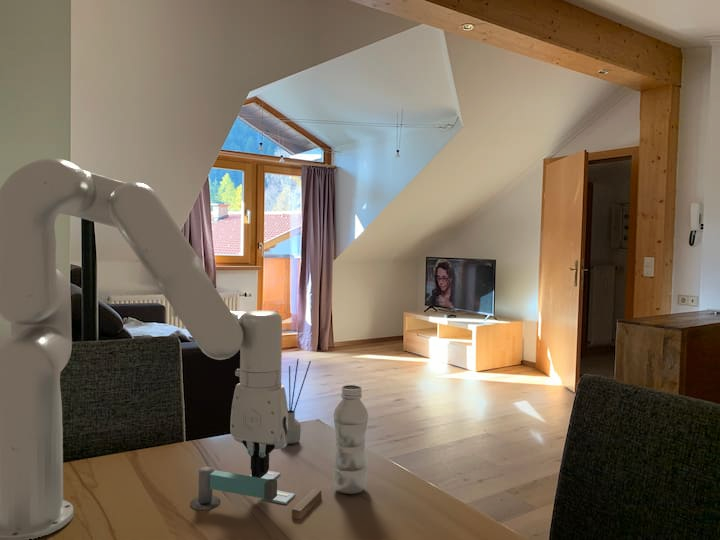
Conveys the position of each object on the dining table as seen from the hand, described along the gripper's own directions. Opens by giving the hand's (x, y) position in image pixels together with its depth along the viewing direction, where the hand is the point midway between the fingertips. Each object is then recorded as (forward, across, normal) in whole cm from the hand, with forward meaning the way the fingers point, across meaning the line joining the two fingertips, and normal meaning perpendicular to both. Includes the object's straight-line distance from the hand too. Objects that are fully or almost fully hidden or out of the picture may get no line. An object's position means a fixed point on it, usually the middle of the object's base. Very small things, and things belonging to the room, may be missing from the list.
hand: (259, 474), depth 102 cm
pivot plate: (+4, -7, -7) cm, 11 cm away
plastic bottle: (+4, +15, +8) cm, 17 cm away
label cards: (+4, 0, +4) cm, 5 cm away
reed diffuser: (+4, -7, +24) cm, 26 cm away
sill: (+4, +10, -1) cm, 11 cm away
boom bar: (+3, -1, -6) cm, 7 cm away
